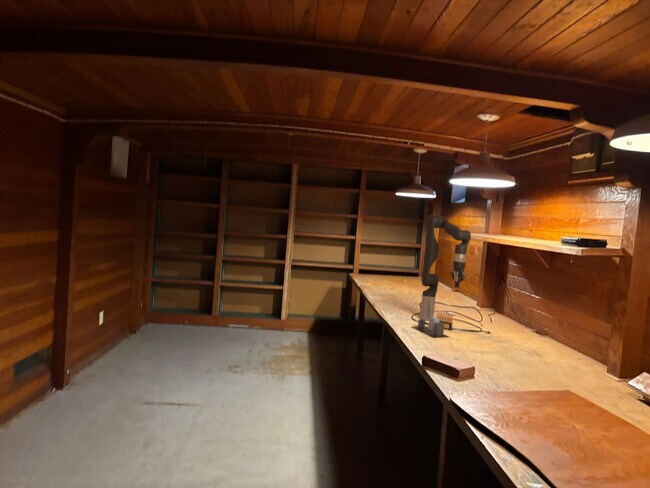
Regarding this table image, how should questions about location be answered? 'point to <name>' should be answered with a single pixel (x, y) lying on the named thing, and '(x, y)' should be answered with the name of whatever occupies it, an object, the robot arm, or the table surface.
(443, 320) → the ammunition clip
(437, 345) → the table surface
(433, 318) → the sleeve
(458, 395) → the table surface
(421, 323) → the dark grey mounting base
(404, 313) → the table surface
